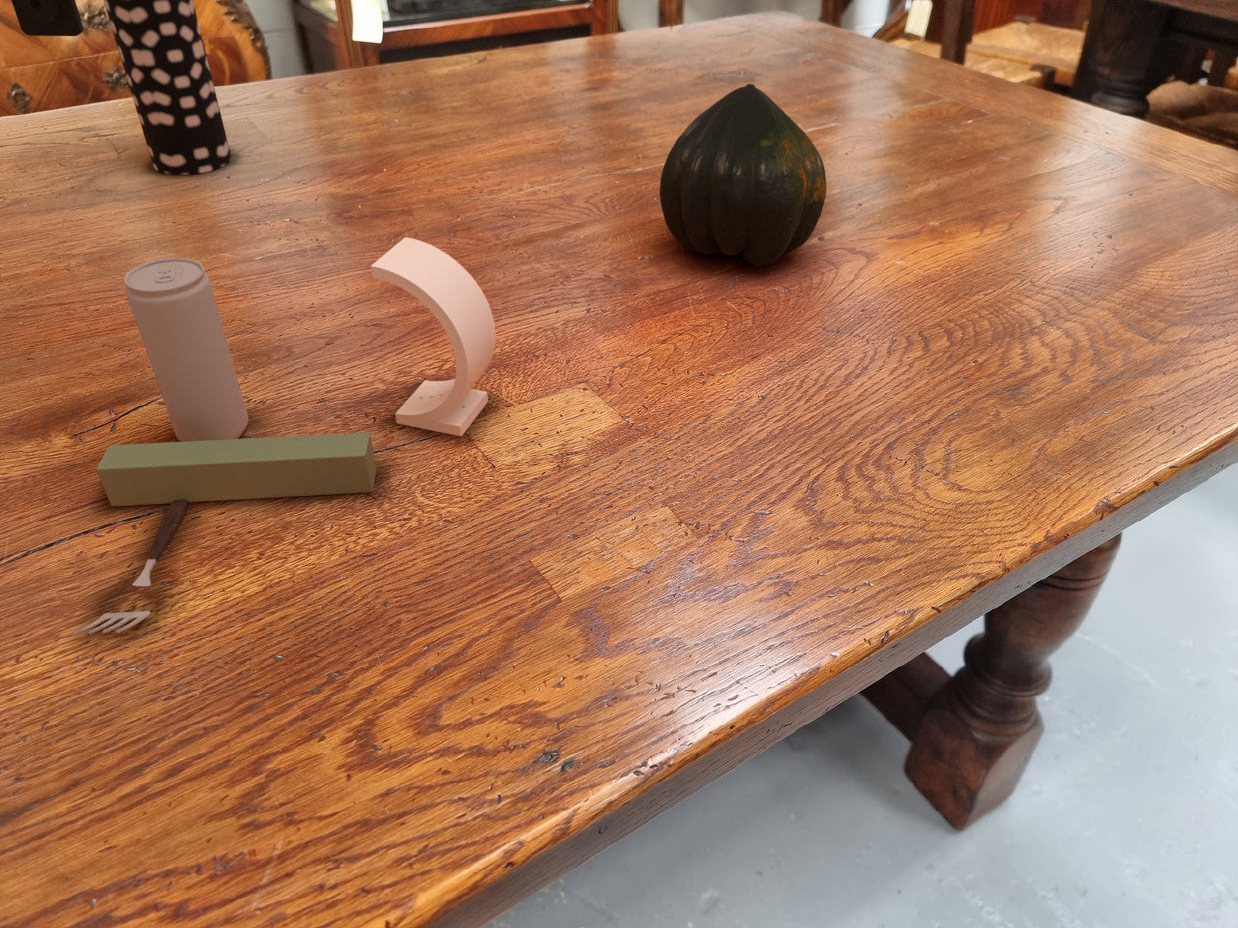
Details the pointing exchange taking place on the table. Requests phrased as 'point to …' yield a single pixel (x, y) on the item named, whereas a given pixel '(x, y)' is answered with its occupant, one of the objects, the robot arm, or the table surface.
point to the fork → (145, 569)
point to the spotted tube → (170, 84)
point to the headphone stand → (462, 320)
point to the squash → (743, 180)
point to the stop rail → (238, 469)
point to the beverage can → (187, 348)
